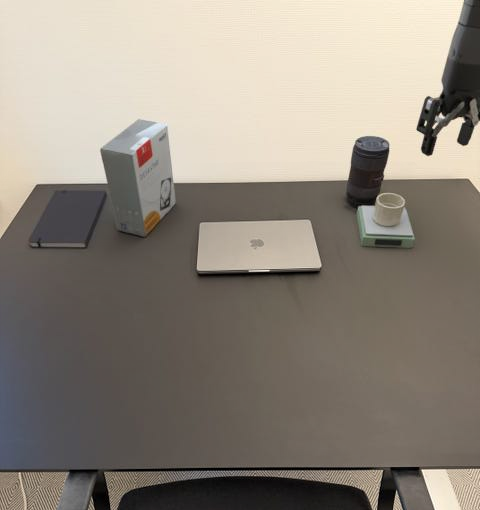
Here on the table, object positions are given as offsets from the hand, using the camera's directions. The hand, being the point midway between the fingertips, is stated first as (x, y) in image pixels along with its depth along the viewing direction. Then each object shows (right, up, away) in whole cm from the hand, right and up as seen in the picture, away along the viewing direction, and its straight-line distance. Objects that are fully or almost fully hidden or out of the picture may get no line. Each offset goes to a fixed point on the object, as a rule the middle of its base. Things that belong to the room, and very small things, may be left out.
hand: (444, 149), depth 88 cm
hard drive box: (-60, -8, +24) cm, 65 cm away
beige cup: (-6, -10, +17) cm, 20 cm away
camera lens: (-9, -3, +27) cm, 29 cm away
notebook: (-79, -9, +23) cm, 82 cm away
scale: (-6, -12, +19) cm, 23 cm away
